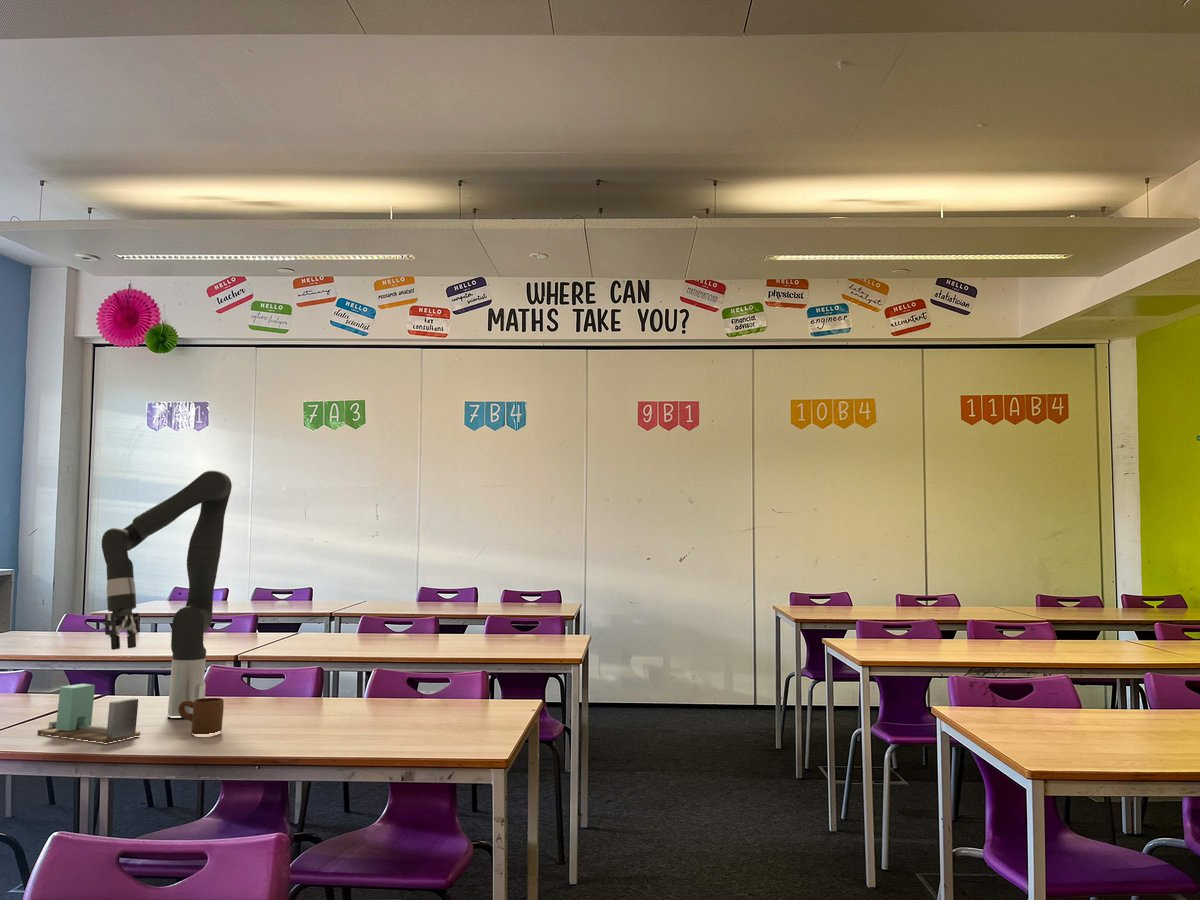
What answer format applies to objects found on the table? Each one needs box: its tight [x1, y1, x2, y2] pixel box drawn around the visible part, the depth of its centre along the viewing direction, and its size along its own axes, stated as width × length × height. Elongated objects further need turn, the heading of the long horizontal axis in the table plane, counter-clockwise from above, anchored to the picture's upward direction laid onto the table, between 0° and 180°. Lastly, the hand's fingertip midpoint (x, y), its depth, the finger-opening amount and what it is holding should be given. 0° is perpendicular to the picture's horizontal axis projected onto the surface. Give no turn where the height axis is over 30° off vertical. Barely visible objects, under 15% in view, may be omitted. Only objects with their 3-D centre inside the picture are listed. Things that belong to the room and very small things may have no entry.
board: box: [37, 727, 141, 743], centre depth 223 cm, size 26×10×1 cm, turn 69°
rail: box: [48, 698, 139, 739], centre depth 224 cm, size 26×7×9 cm, turn 69°
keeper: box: [56, 683, 96, 731], centre depth 226 cm, size 5×6×11 cm
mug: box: [178, 697, 225, 734], centre depth 228 cm, size 12×8×9 cm, turn 90°
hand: (124, 648), depth 247 cm, fingers open, 8 cm apart
